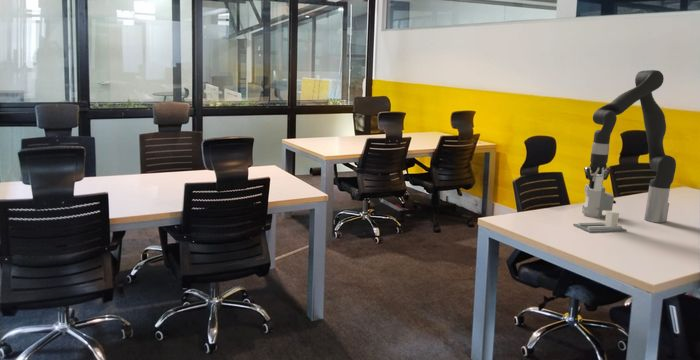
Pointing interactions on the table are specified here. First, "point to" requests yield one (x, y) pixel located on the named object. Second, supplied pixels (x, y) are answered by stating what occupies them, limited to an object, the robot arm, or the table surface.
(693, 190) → the table surface
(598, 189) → the block
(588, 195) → the circuit breaker
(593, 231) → the rail plate
